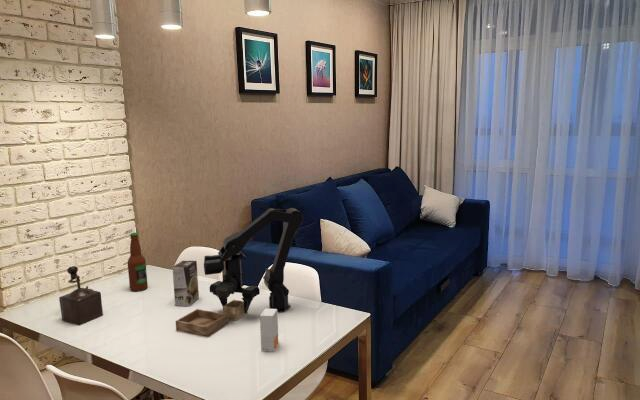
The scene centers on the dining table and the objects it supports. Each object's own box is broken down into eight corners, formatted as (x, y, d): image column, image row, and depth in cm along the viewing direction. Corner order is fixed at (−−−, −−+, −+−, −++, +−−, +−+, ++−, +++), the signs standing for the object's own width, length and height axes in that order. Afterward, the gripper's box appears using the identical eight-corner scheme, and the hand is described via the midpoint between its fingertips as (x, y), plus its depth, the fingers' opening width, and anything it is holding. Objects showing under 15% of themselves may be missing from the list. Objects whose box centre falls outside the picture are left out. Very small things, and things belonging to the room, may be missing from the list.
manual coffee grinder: (105, 314, 184) (100, 269, 181) (79, 325, 174) (74, 278, 171) (78, 307, 191) (73, 264, 188) (52, 318, 181) (46, 272, 178)
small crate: (247, 313, 182) (246, 301, 181) (236, 320, 176) (236, 308, 175) (234, 310, 184) (233, 299, 184) (223, 317, 178) (222, 306, 177)
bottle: (144, 291, 207) (139, 235, 203) (127, 292, 207) (121, 235, 203) (150, 286, 214) (145, 231, 210) (133, 286, 214) (128, 231, 210)
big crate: (228, 323, 173) (227, 314, 172) (207, 337, 163) (207, 327, 162) (197, 317, 179) (197, 308, 178) (176, 330, 168) (175, 321, 168)
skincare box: (274, 352, 151) (272, 316, 149) (260, 351, 152) (259, 315, 150) (279, 343, 157) (277, 308, 155) (266, 342, 158) (264, 307, 156)
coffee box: (189, 306, 189) (186, 267, 187) (174, 305, 191) (171, 266, 188) (199, 298, 198) (197, 260, 196) (185, 297, 200) (182, 259, 197)
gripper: (198, 274, 174) (201, 315, 177) (242, 281, 166) (244, 323, 169) (217, 266, 184) (219, 304, 187) (259, 271, 176) (261, 312, 179)
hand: (235, 311), depth 180 cm, fingers open, 9 cm apart
